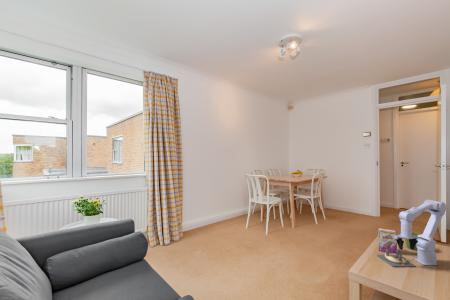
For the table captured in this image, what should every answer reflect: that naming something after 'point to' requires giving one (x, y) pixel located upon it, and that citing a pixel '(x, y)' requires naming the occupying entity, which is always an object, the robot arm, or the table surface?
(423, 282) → the table surface
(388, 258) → the capstan wheel
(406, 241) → the plant pot
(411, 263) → the stand
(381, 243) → the candy bar box
